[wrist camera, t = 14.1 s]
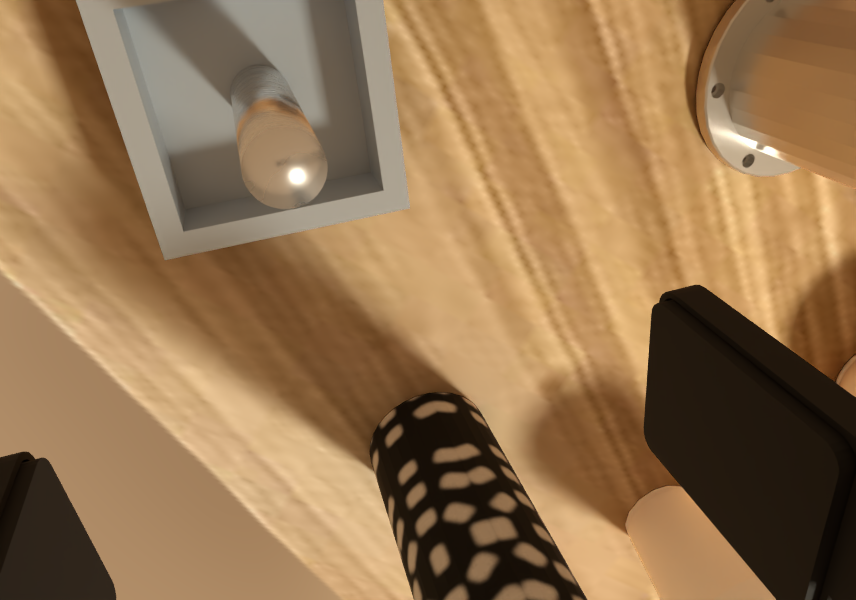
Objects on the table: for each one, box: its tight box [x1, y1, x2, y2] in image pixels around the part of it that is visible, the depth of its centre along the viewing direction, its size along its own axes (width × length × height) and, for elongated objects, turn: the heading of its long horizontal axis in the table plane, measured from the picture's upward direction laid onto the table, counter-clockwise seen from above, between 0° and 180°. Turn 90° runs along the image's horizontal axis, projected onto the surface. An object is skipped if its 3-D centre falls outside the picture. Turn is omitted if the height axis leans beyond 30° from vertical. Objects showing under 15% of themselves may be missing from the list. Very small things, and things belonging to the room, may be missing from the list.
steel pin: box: [231, 64, 328, 209], centre depth 27 cm, size 3×3×12 cm
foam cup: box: [625, 486, 776, 600], centre depth 52 cm, size 10×9×13 cm
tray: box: [76, 0, 410, 260], centre depth 31 cm, size 12×12×4 cm
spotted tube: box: [370, 393, 587, 600], centre depth 38 cm, size 8×8×20 cm
